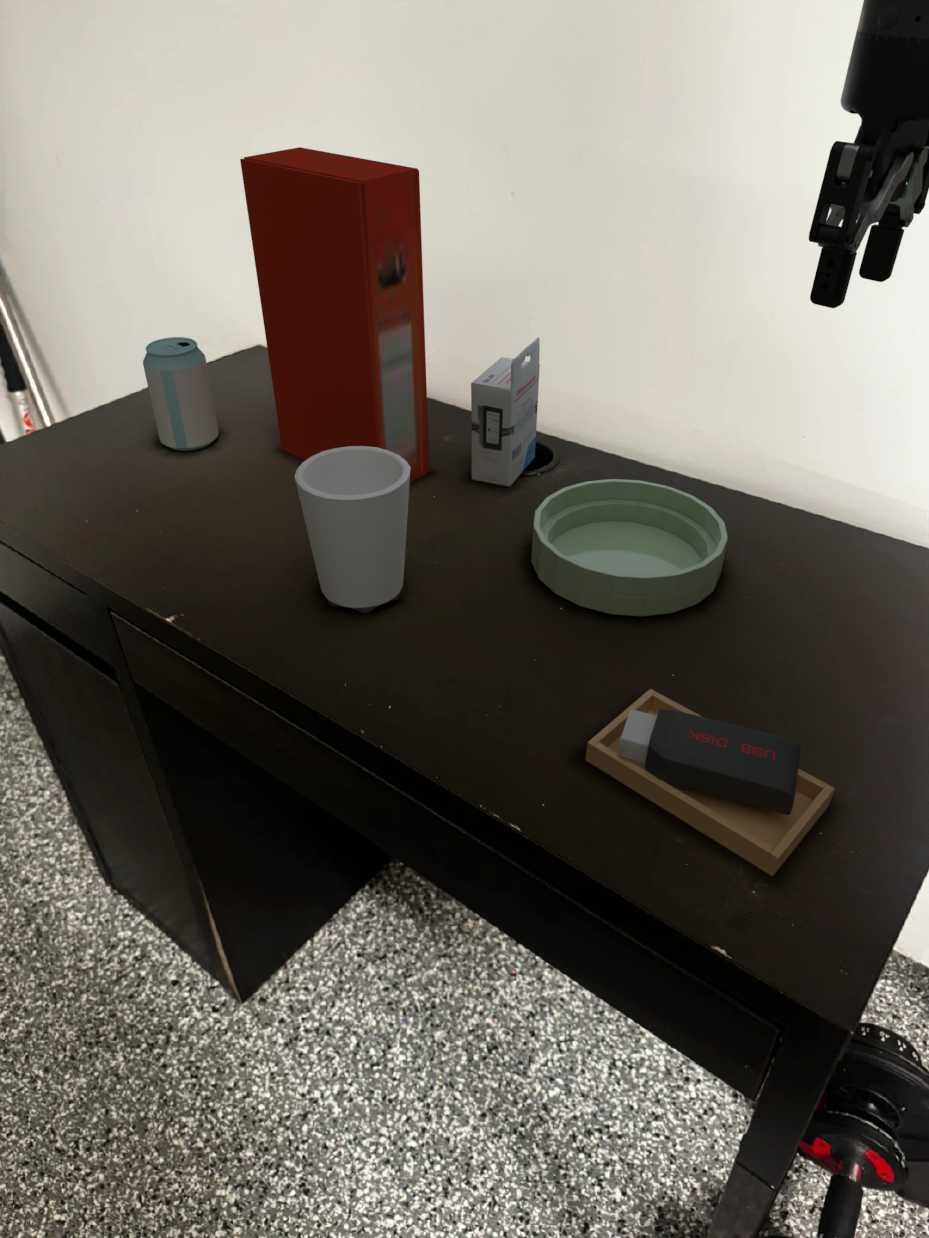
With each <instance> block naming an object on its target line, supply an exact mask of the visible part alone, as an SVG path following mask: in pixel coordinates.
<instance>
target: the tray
mask: <svg viewBox="0 0 929 1238" xmlns="http://www.w3.org/2000/svg"><path fill="white" fill-rule="evenodd" d="M631 709H633V710H637V711H640V712H644V713H648V714H652V715H656V716H657V715H658V712H659V709H664V710H675V711H681V712H685V713H689V714H693V715H697V716H701V717H703V716H702V715H700V714H699V713H696V712H695V711H693V710H691V709H689V708H687V707H686V706H683V705H681V704H680V703H678V702H676V701H674V700H672V699H671V698H668V697H667V696H665V695H663V694H661V693H659V692H657V691H656V690H654V689H652V688H650V689H648V690H647V691H646V692H644V693H643V694H642V695H641V696H640V697H638V698H637V700H635V701H633V703H631V704H630V705H629V706H628V707H627V708H626V709H624V710H623V711H622V712H621V713H620V714H619V715H618V716H617V717H615V718H614V719H613V720H612V721H611V722H609V723H608V724H607V725H606V726H604V728H602V729H601V730H600V731H599V732H598V733H596V735H594V736H593V737H592V738H591V739H589V740H588V741H587V744H586V752H585V759H584V760H585V761H586V762H587V763H589V764H591V765H592V766H594V767H595V768H597V769H598V770H600V771H602V772H604V773H605V774H607V775H608V776H610V777H611V778H613V779H614V780H617V781H618V782H620V783H621V784H623V785H625V786H626V787H628V788H629V789H631V790H633V791H634V792H636V793H637V794H638V795H641V796H642V797H644V798H645V799H647V800H648V801H650V802H652V803H654V804H655V805H656V806H658V807H660V808H662V809H663V810H665V811H666V812H668V813H669V814H671V815H673V816H674V817H676V818H677V819H679V820H681V821H683V823H686V824H687V825H689V826H690V827H692V828H694V829H695V830H697V831H698V832H700V833H702V834H703V835H705V836H706V837H708V838H710V839H711V840H713V841H714V842H716V843H717V844H719V845H721V846H722V847H724V848H726V849H727V850H729V851H731V852H732V853H734V854H736V855H737V856H738V857H740V858H741V859H743V860H745V861H747V862H748V863H750V864H751V865H753V866H755V867H756V868H758V869H759V870H761V871H763V872H765V873H766V874H767V875H769V876H771V877H773V876H774V875H775V874H776V873H777V872H778V870H779V869H780V868H781V867H782V866H783V864H784V863H785V862H786V860H787V859H788V858H789V857H790V855H791V854H792V853H793V852H794V851H795V849H796V848H797V847H798V845H800V843H801V841H802V840H804V838H805V836H806V835H807V834H808V833H809V832H810V830H811V829H812V828H813V826H814V825H816V823H817V822H818V821H819V819H820V818H821V816H822V815H823V814H824V813H825V811H826V810H827V809H828V808H829V806H830V803H831V800H832V798H833V795H834V792H835V788H836V787H834V786H832V785H830V784H828V783H826V782H824V781H822V780H821V779H819V778H817V777H815V776H813V775H811V774H809V773H807V772H806V771H804V770H802V769H800V768H798V775H797V783H796V790H795V798H794V803H793V808H792V811H791V813H790V815H787V814H783V813H779V812H775V811H772V810H768V809H764V808H761V807H757V806H753V805H750V804H746V803H743V802H739V801H735V800H732V799H728V798H724V797H721V796H717V795H714V794H710V793H706V792H703V791H699V790H695V789H692V788H688V787H685V786H681V785H677V784H674V783H670V782H666V781H663V780H660V779H658V778H657V777H655V776H654V775H652V774H651V773H650V772H648V771H647V770H645V763H644V762H640V761H636V760H633V759H629V758H625V757H622V756H618V752H619V746H620V739H621V736H622V733H623V730H624V727H625V724H626V722H627V719H628V716H629V713H630V710H631Z"/></svg>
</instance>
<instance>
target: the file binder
mask: <svg viewBox="0 0 929 1238" xmlns="http://www.w3.org/2000/svg"><path fill="white" fill-rule="evenodd" d="M239 161H240V168H241V174H242V183H243V189H244V194H245V195H244V196H245V203H246V211H247V217H248V224H249V229H250V237H251V244H252V251H253V258H254V265H255V266H254V267H255V271H256V272H255V273H256V280H257V285H258V286H257V287H258V293H259V299H260V306H261V307H260V308H261V313H262V320H263V321H262V322H263V327H264V334H265V341H266V348H267V355H268V356H267V357H268V362H269V368H270V369H269V370H270V377H271V383H272V391H273V396H274V397H273V398H274V404H275V411H276V418H277V424H278V425H277V426H278V430H279V431H278V432H279V438H280V444H281V449H282V450H283V451H284V452H286V453H287V454H290V455H292V456H294V457H296V458H298V459H300V460H303V461H305V460H307V459H308V458H310V457H311V456H313V455H316V454H318V453H320V452H322V451H326V450H330V449H334V448H341V447H348V446H368V447H377V448H381V449H385V450H388V451H391V452H393V453H395V454H397V455H399V456H401V457H402V458H403V459H405V460H406V461H407V463H408V464H409V466H410V467H411V468H410V483H412V482H414V481H417V480H419V479H420V478H422V477H423V476H426V475H427V473H429V472H430V451H429V449H430V447H429V423H428V422H429V419H428V416H429V415H428V389H427V362H426V361H427V359H426V332H425V331H426V330H425V303H424V301H425V300H424V273H423V271H424V270H423V246H422V245H423V244H422V243H423V242H422V241H423V240H422V215H421V214H422V213H421V185H420V170H419V168H417V167H412V166H406V165H401V164H394V163H389V162H384V161H379V160H372V159H366V158H361V157H356V156H351V155H345V154H340V153H333V152H328V151H323V150H316V149H311V148H306V147H293V148H288V149H282V150H276V151H271V152H270V151H269V152H266V153H265V152H264V153H261V154H253V155H249V156H244V157H243V158H240V159H239Z"/></svg>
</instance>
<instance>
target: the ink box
mask: <svg viewBox="0 0 929 1238" xmlns="http://www.w3.org/2000/svg"><path fill="white" fill-rule="evenodd" d="M540 345H541V344H540V337H539V336H537V337H536V338H535V339H534V340H533V341H532V342H531V343H529V344H528V345H527V346H526V347H525V348H524V349H523V350H522V351H521V352H520V353H519V354H517V355H516V356H515V357H514V358H510V357H499V359H498V360H496V361H495V362H494V363H493V364H492V365H490V366H489V367H488V368H487V369H485V371H484V372H482V373H481V374H480V375H479V376H478V377H476V378H475V379H474V380H473V381H471V383H470V398H471V399H470V401H471V402H470V404H471V405H470V407H471V409H470V410H471V412H470V413H471V417H470V418H471V422H470V423H471V426H470V427H471V428H470V429H471V431H470V432H471V433H470V434H471V437H470V438H471V443H470V445H471V446H470V448H471V451H470V452H471V479H472V480H473V481H478V482H482V483H488V484H493V485H498V486H503V487H507V488H508V487H511V486H512V485H513V484H514V482H515V481H516V480H517V479H518V478H519V477H520V475H521V474H522V473H523V472H524V471H525V470H526V469H527V467H529V465H530V464H531V463H532V461H533V460H534V459H535V457H536V446H537V445H536V444H537V443H536V442H537V425H538V423H537V422H538V407H539V406H538V405H539V404H538V403H539V386H540V368H541V367H540V366H541V365H540V350H541V349H540ZM526 357H527V358H528V357H529V360H528V361H526Z"/></svg>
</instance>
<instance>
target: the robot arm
mask: <svg viewBox="0 0 929 1238" xmlns="http://www.w3.org/2000/svg"><path fill="white" fill-rule="evenodd" d="M850 53H851V54H850V58H849V62H848V66H847V70H846V75H845V78H844V83H843V88H842V92H841V97H840V106H841V108H842V109H843V110H844V111H846V112H848V113H849V114H853V115H858V116H859V117H860V121H861V122H860V123H861V124H860V126H859V127H858V130H857V133H856V136H855V139H854V140H853V142H849V141H840V140H835V141H834V143H833V144H832V146H831V148H830V150H829V155H828V159H827V162H826V165H825V166H826V167H825V171H824V175H823V178H822V181H821V186H820V190H819V194H818V198H817V202H816V205H815V210H814V214H813V217H812V221H811V225H810V229H809V233H808V241H809V243H810V242H811V243H815V244H817V246H818V247H820V248H821V249H820V254H819V258H818V262H817V266H816V270H815V274H814V279H813V283H812V286H811V291H810V295H809V299H810V302H811V303H812V304H814V305H816V306H820V307H824V308H825V307H826V308H830V309H837V308H838V307H840V306H841V305H843V304H844V303H845V300H846V296H847V293H848V288H849V285H850V282H851V278H852V274H853V270H854V266H855V262H856V258H857V255H858V249H859V248H860V246H861V244H862V243H863V242H862V241H863V240H864V237H865V236H866V233H867V232H868V229H869V227H870V229H869V233H868V236H867V239H866V241H867V242H866V243H865V248H864V252H863V255H862V259H861V263H860V265H859V269H858V275H859V277H860V278H861V279H865V280H869V281H873V282H878V283H883V282H886V281H887V280H889V279H890V278H891V276H892V274H893V271H894V267H895V263H896V261H897V257H898V253H899V250H900V246H901V244H902V239H903V237H904V233H905V229H904V228H908V227H910V226H911V223H912V222H913V220H914V218H915V217H914V214H915V215H920V214H921V213H922V211H923V210H924V209H925V206H926V201H927V197H928V194H929V0H863V2H862V6H861V11H860V15H859V20H858V24H857V28H856V33H855V36H854V41H853V44H852V49H851V52H850ZM840 224H841V226H840Z"/></svg>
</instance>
